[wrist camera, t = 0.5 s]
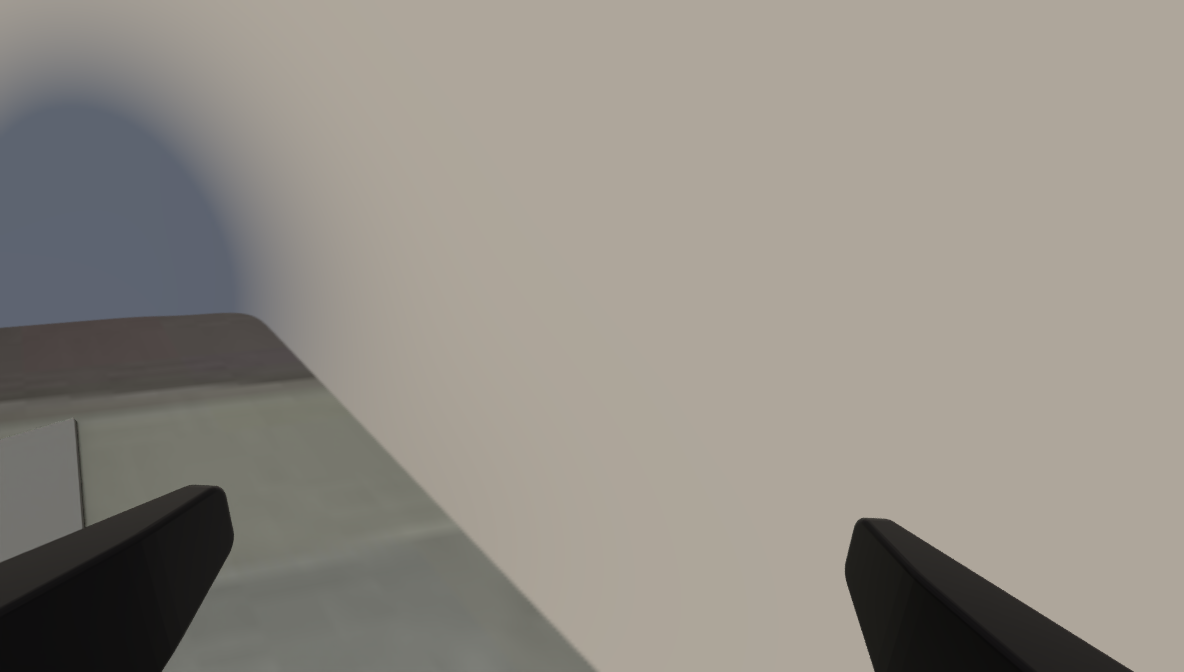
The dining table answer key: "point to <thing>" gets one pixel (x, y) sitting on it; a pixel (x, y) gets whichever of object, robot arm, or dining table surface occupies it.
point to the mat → (39, 487)
